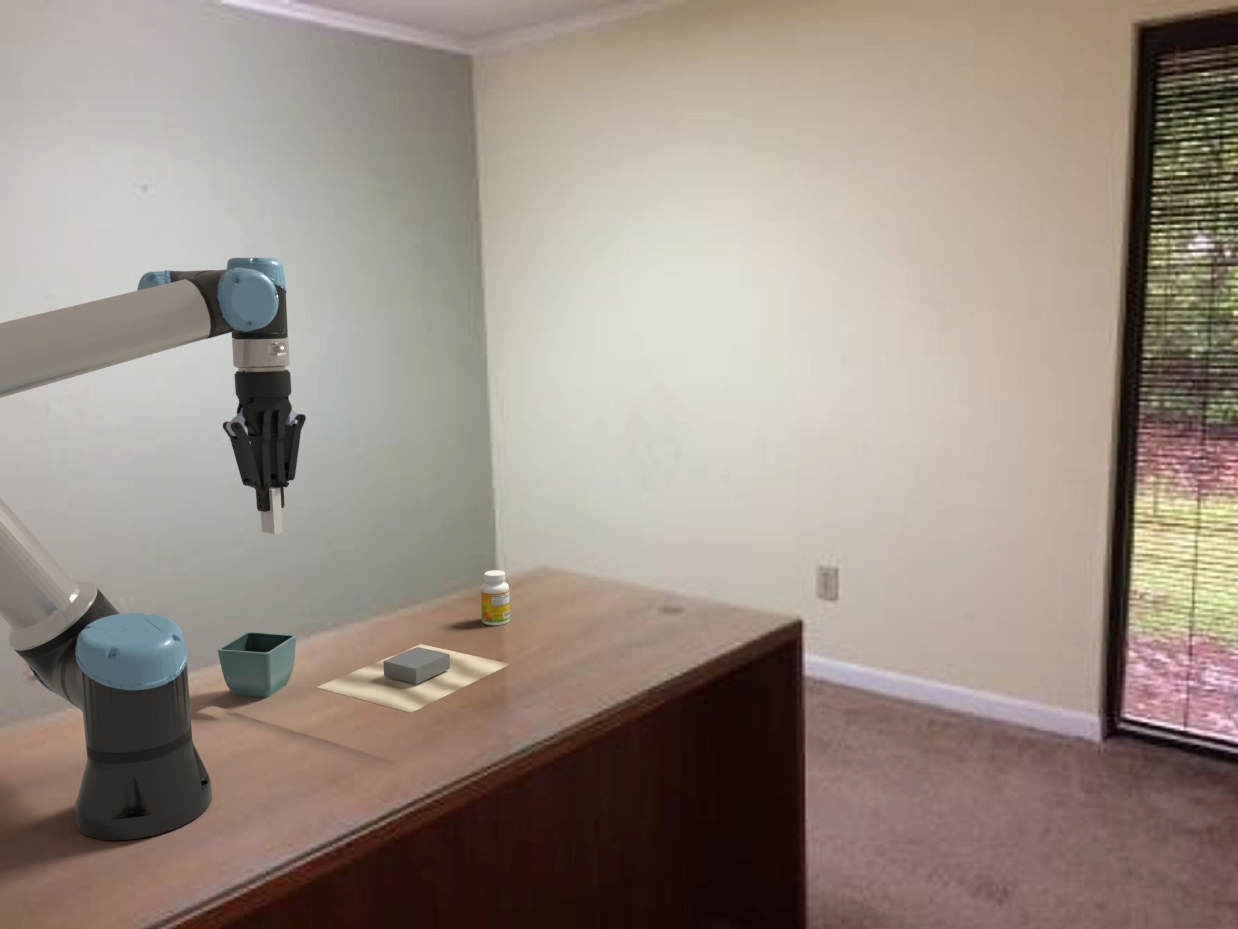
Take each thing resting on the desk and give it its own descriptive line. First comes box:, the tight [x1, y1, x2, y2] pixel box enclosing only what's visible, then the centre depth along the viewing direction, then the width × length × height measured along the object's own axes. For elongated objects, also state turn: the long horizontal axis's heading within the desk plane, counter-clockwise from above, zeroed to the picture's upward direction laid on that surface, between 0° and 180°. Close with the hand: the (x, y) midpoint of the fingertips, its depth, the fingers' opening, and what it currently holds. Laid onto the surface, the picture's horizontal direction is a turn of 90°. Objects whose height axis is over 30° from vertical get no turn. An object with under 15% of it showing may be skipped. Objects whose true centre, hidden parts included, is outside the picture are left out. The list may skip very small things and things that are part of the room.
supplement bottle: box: [480, 569, 511, 626], centre depth 199 cm, size 5×5×10 cm
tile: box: [383, 647, 450, 684], centre depth 168 cm, size 3×7×8 cm
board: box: [316, 643, 511, 714], centre depth 168 cm, size 24×20×1 cm
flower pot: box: [217, 631, 297, 698], centre depth 162 cm, size 9×9×9 cm
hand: (272, 532), depth 150 cm, fingers closed
